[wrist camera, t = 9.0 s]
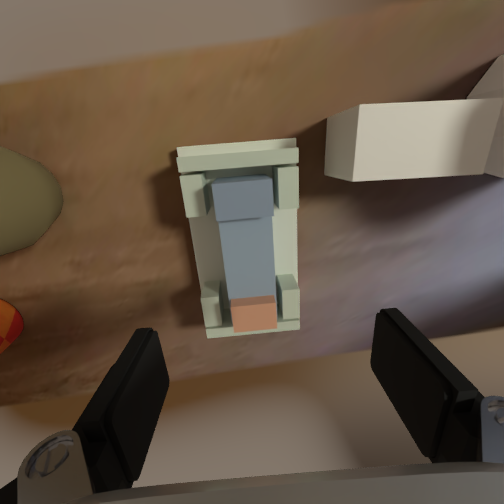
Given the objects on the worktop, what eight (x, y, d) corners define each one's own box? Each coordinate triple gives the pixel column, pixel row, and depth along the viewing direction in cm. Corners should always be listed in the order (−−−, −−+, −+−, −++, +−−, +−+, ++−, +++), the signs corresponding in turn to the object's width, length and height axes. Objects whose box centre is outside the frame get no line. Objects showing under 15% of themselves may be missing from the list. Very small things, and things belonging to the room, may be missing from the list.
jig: (293, 138, 21) (305, 135, 17) (295, 310, 27) (305, 335, 24) (179, 147, 21) (166, 146, 17) (207, 319, 27) (203, 345, 23)
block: (433, 112, 21) (503, 97, 15) (422, 169, 23) (483, 174, 17) (326, 118, 21) (359, 104, 15) (323, 174, 22) (352, 181, 17)
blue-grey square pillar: (264, 173, 21) (272, 178, 17) (272, 298, 25) (279, 328, 21) (216, 178, 21) (211, 184, 17) (232, 302, 25) (231, 333, 21)
